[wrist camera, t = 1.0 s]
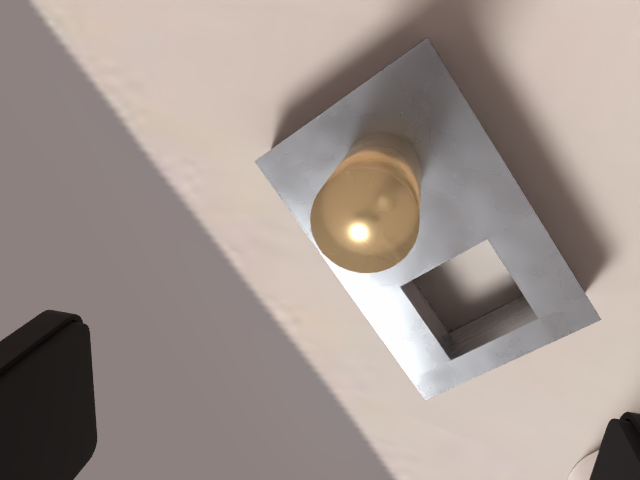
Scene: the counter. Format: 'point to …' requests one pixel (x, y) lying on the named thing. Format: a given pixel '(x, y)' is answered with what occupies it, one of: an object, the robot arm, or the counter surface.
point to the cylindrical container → (583, 468)
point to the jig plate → (437, 224)
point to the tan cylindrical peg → (370, 205)
